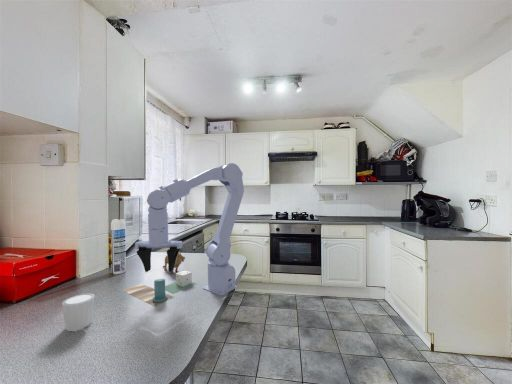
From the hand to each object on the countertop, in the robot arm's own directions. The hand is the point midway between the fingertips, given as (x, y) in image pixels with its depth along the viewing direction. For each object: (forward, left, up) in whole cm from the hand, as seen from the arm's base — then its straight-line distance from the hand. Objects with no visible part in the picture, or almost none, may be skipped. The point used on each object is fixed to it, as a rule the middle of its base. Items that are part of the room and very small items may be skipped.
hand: (159, 270), depth 76 cm
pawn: (0, 0, -9) cm, 9 cm away
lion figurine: (+19, -18, -10) cm, 28 cm away
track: (+8, 0, -9) cm, 12 cm away
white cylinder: (+5, +20, -10) cm, 23 cm away
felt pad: (+4, -10, -9) cm, 14 cm away
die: (+4, -12, -9) cm, 16 cm away
